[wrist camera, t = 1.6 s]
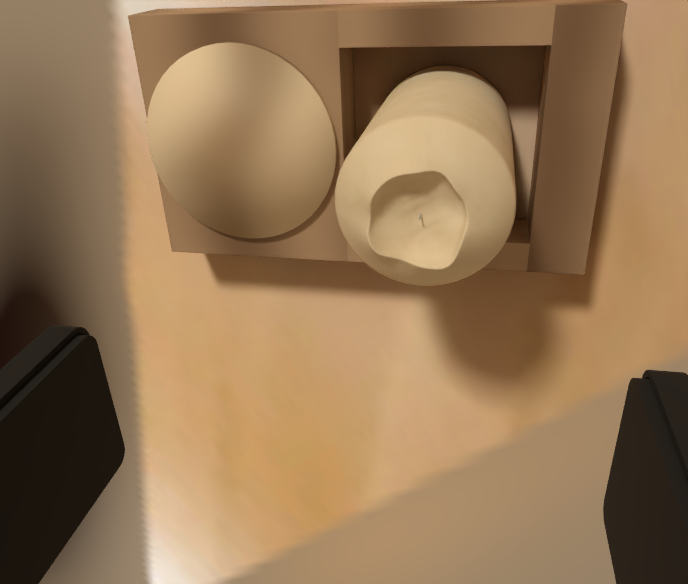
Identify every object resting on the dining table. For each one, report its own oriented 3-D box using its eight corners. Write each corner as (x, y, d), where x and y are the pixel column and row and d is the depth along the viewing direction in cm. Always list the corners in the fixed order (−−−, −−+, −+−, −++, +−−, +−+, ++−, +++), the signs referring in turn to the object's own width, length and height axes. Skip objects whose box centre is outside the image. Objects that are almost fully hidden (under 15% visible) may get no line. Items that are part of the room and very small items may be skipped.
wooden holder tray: (615, -3, 23) (629, 4, 21) (577, 248, 28) (585, 278, 26) (157, 9, 27) (123, 16, 24) (194, 229, 32) (169, 254, 29)
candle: (533, 159, 26) (550, 266, 18) (416, 215, 29) (382, 333, 20) (474, 36, 25) (461, 90, 16) (354, 106, 27) (288, 185, 18)
